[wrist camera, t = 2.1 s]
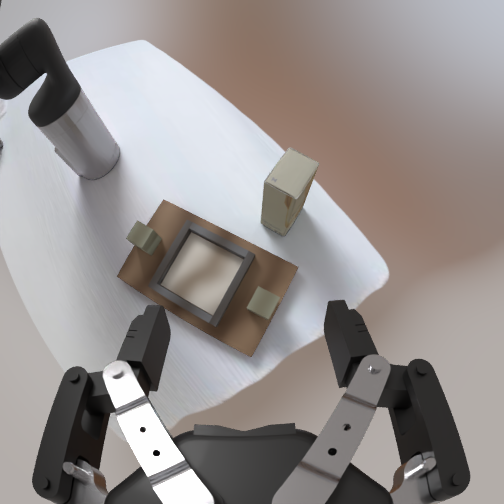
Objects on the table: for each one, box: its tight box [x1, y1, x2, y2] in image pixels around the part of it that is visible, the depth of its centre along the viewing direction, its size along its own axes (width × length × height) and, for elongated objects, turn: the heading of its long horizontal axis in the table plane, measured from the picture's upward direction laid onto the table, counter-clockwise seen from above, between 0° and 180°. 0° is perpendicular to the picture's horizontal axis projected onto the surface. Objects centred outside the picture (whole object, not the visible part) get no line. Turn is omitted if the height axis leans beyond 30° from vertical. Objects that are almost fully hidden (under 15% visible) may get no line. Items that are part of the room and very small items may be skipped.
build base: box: [117, 200, 298, 357], centre depth 37 cm, size 23×14×6 cm, turn 62°
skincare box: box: [261, 148, 319, 236], centre depth 36 cm, size 6×4×12 cm
